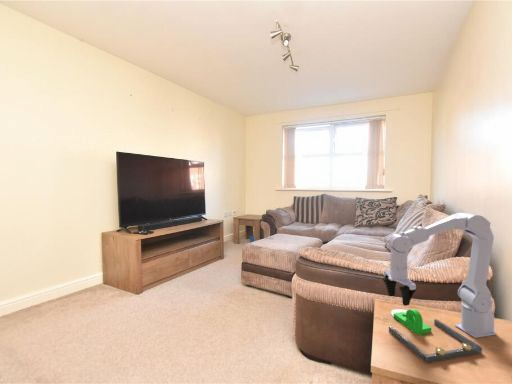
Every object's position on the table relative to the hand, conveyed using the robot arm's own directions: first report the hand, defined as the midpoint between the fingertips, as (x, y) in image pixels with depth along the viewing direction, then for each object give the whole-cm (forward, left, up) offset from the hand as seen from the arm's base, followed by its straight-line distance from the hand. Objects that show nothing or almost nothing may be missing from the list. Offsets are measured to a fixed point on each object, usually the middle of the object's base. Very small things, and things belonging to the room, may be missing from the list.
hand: (398, 300), depth 100 cm
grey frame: (-4, +11, -10) cm, 16 cm away
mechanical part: (-5, 0, -11) cm, 12 cm away
